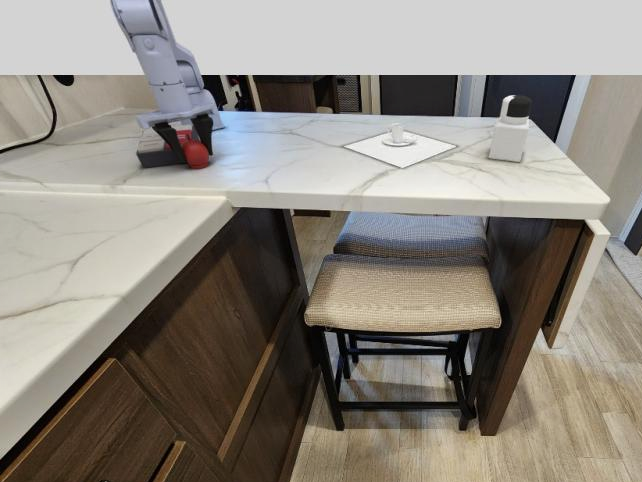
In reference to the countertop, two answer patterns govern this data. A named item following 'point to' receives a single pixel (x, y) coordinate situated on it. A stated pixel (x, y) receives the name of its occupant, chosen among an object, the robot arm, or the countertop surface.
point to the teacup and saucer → (400, 147)
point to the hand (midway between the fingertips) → (196, 158)
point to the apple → (195, 153)
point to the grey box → (161, 147)
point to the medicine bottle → (511, 129)
